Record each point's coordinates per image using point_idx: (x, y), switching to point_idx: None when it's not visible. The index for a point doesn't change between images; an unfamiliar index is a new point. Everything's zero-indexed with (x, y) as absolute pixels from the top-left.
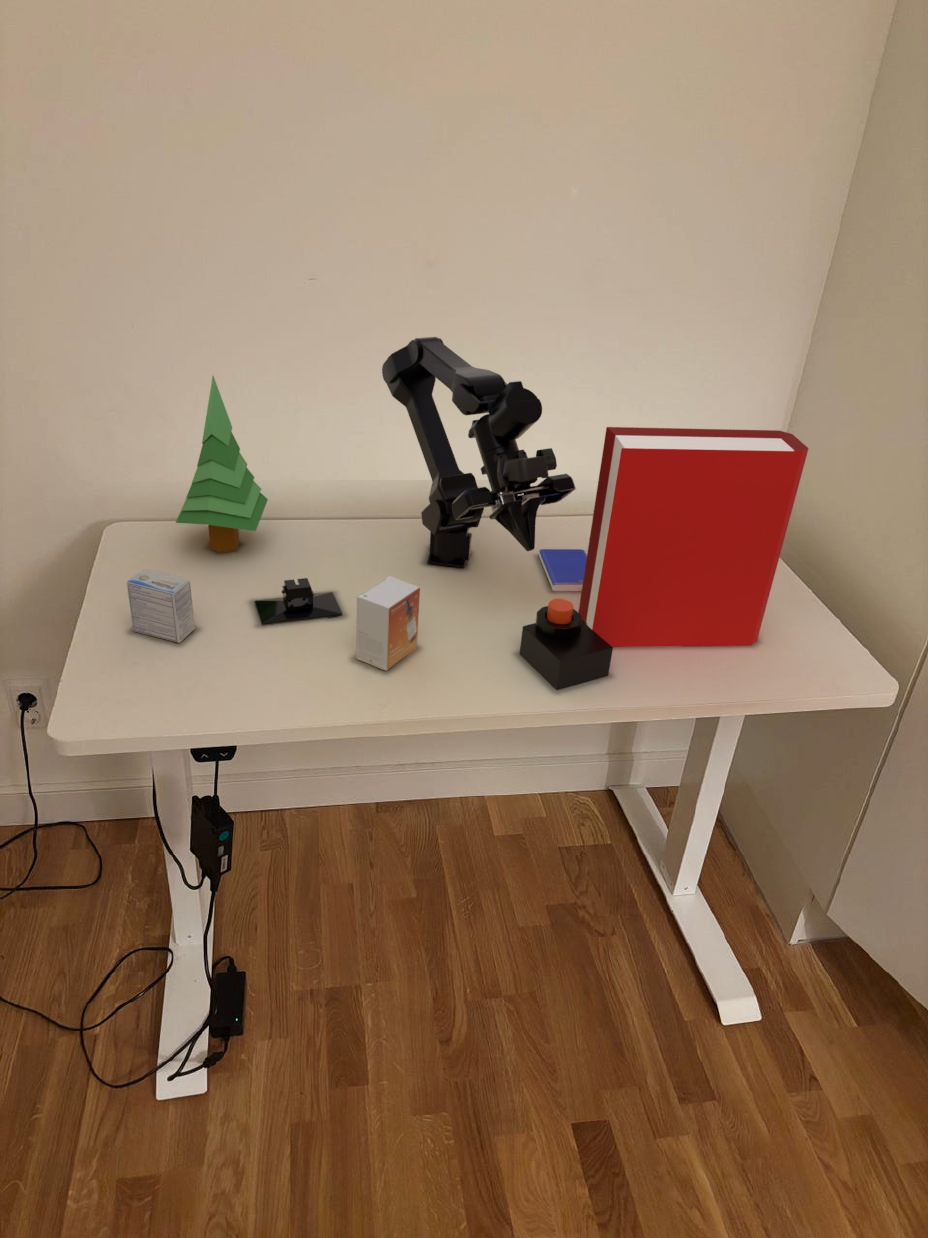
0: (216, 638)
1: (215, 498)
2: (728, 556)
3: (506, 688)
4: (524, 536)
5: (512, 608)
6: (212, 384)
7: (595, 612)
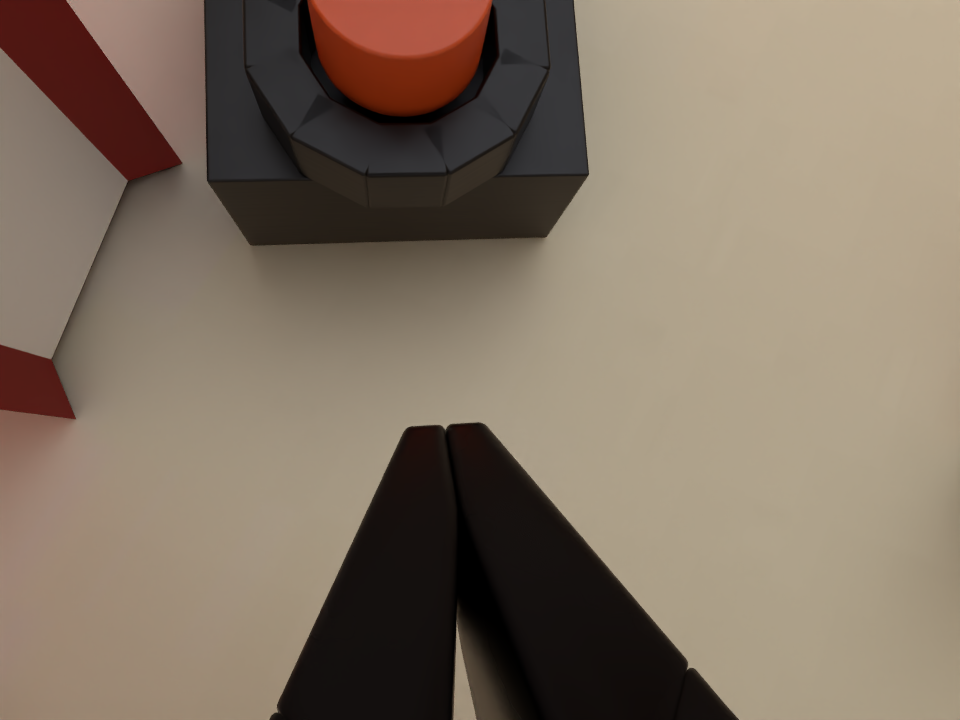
0: None
1: None
2: None
3: (712, 42)
4: (580, 536)
5: None
6: None
7: (94, 41)
